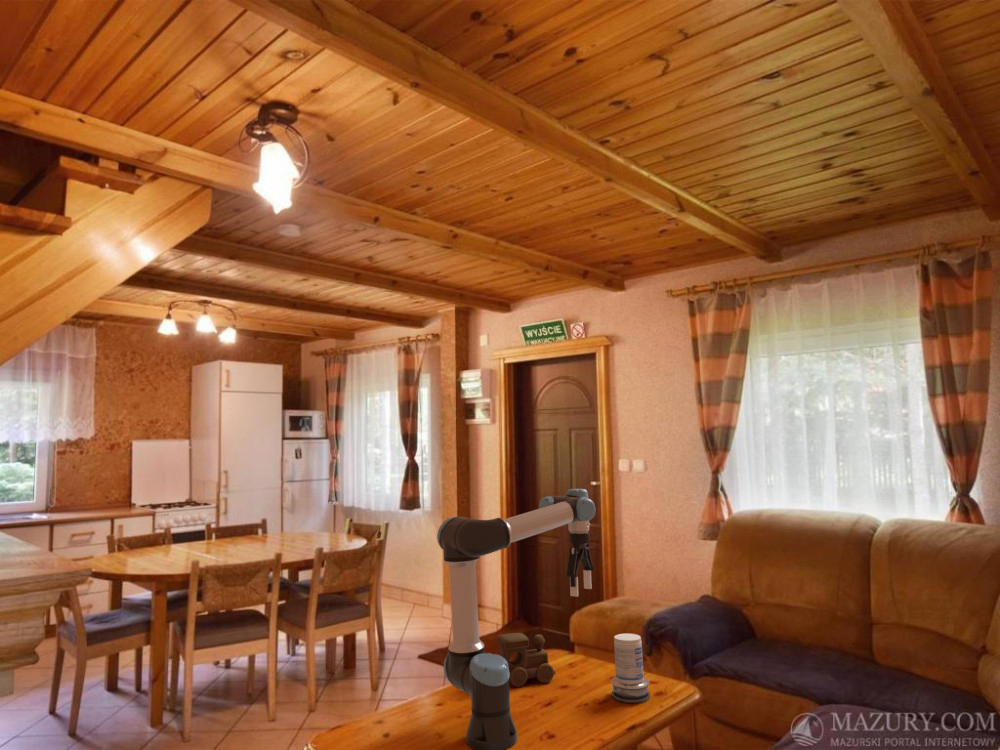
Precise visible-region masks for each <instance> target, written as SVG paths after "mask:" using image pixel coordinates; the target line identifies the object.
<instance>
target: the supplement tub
mask: <svg viewBox="0 0 1000 750" xmlns="http://www.w3.org/2000/svg"><path fill="white" fill-rule="evenodd" d="M613 638H614V639H613V640H614V641H613V647H614V663H615V665H614V666H615V677H616V679H617V681H618V682H620V683H622V684H627V685H635V684H639V683H642V682H643V680H644V677H645V676H644V661H643V645H642V644H643V643H642V638H641V635H639V634H635V633H619V634H616V635H614V636H613Z"/></svg>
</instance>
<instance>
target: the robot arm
mask: <svg viewBox="0 0 1000 750" xmlns="http://www.w3.org/2000/svg"><path fill="white" fill-rule="evenodd" d="M588 493H589V492H588V490H587V489H585V488H571V489H567V493H566V495H548V496H544V497H542V498H541V499H540V501H539V502H538V503H539V505H538V506H539V507H538V508H537V509H534V510H531V511H528V512H524V513H521V514H518V515H514V516H510V517H508V518H502V517H496V518H493V519H492V518H491V519H477V518H470V517H465V516H451V517H449V518H447V519H445V520H444V521H443V522H442V523H441V524H440V525H439V528H438V529H437V534H436V535H437V536H436V538H437V539H436V540H437V544H438V545H439V547H440V549H441V550H443V562H444V563H445V564H447V565H448V573H449V574H448V575H449V591H450V610H451V612H450V614H451V628H452V629H451V631H452V642H451V643H450V644H449V646H448V652H447V655H446V656H445V658H444V661H443V672H444V673H443V674H444V676H445V678H446V679H447V681H448V682H449V683H450V684H451V685H452V686H453V687H455V688H456V689H458V690H460V691H462V692H463V693H466V694H467V695H469V696H470V705H471V706H470V707H471V715H470V718H469V721H468V725H467V726H468V727H467V730H466V735H465V736H466V741H465V742H466V745H467V746H469V748H471V749H473V750H505V749H509V748H512V746H514V745H515V744H517V741H518V734H517V733H518V732H517V728H516V726H515V723H514V720H513V717H512V714H511V697H510V696H511V695H510V694H511V693H510V691H511V690H510V681H509V676H510V674H509V668H508V663H507V661H506V660H505V659H504V658H503V657H502V656H500V654H497V653H494V654H493V653H492V652H486V649H485V648H486V647H485V643H484V642H483V641H482V640H481V639H480V628H479V627H480V626H479V608H478V607H479V606H478V589H477V587H478V586H477V573H476V572H477V571H476V569H477V567H476V563H477V562H478V561H479V560H480V557H482V556H483V557H484V556H486V555H489V554H492V553H495V552H498V551H501V550H505V549H506V548H509V546H510V545H511V544H512V543H515V542H517V541H521V540H525V539H527V538H530V537H533V536H536V535H539V534H541V533H544V532H545V533H546V532H547V531H551V530H553V529H556V528H560V527H562V526H567V525H568V528H567V529H568V532H569V533H568V541H569V544H572V545H573V547H569V556H568V564H567V571H566V577H567V578H569V590H570V591H569V592H570V595H569V596H570V597H577V598H578V597H579V579H578V576H577V575H578V571H579V569H580V568H579V567H580V563H581V565H582V566H583V571H582V572H583V589H585V590H592V586H593V585H592V571H594V564H593V557H592V555H591V550H590V542H591V536H590V535H591V534H590V532H589V531H590V526H591V523H590V521H591V520H592V519H593V518H594V517H595V515H596V505H595V503H594V501H593V500H592V499H590V498H589V494H588Z"/></svg>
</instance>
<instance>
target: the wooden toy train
mask: <svg viewBox="0 0 1000 750" xmlns="http://www.w3.org/2000/svg"><path fill="white" fill-rule="evenodd" d="M496 642H497V644H498V646H499V655H500V656H502V657H503V658H504V659H505V660H506V661H507V663H508V668H509V674H510V676H509V684H511V685H512V687H516V688H520V687H522V686H524V685H525V684H526V683H527V680H528V679H533V678H536V680H537V681H538V682H539V683H542V684H547V683H550V682H551V681H552V680H553V678H554V676H555V675H556V670H555V669H554V667H553V665H551V663H549V655H548V652H547V650H546V649H544V645H545V642H546V640H545V638H544V636H543V635H542V634H535V636H534V637H533V639H532V642H533V644H534V646H535V649H534V648H533V649H527V648H529V647H530V639H529V638H528V636H526V634H525V633H522V632H512V633H504V634H503V633H502V634H497V635H496ZM514 653H515V654H516V655H515V657H514V658H513V659H511V657H512V655H513V654H514Z"/></svg>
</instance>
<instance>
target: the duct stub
mask: <svg viewBox="0 0 1000 750" xmlns="http://www.w3.org/2000/svg"><path fill="white" fill-rule="evenodd" d="M610 684H611V685H612V691H611V698H612V699H613V700H614V701H616V702H620V703H623V704H631V705H632V704H633V705H634V704H635V705H636V704H637V705H638V704H642V703H645V702H648V701H650V699H651V693H650V691H649V685H650V681H649V679H648V678H647V677H645V676H644V680H643V682H642V683H639V684H635V685H627V684H622V683H620V682H618V681H617V679H616V676H613V677H612V678H611V680H610Z"/></svg>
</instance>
